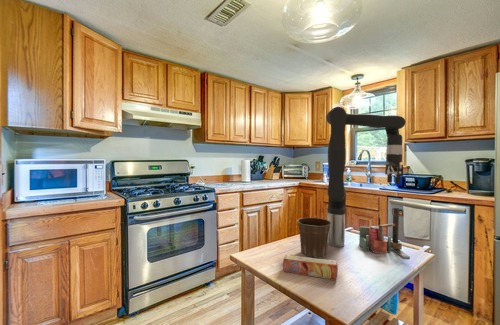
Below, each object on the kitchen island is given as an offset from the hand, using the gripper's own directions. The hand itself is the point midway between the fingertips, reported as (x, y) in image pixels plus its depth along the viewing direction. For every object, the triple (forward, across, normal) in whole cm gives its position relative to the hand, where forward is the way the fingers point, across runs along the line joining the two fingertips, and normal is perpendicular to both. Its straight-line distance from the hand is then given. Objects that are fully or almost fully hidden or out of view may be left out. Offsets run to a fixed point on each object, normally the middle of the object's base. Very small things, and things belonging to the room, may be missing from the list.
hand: (393, 183), depth 128 cm
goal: (+34, +5, -11) cm, 37 cm away
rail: (+34, +8, -1) cm, 35 cm away
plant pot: (+35, +16, -45) cm, 59 cm away
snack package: (+35, +38, -50) cm, 72 cm away
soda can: (+35, +6, -11) cm, 37 cm away
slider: (+34, +7, -6) cm, 36 cm away
